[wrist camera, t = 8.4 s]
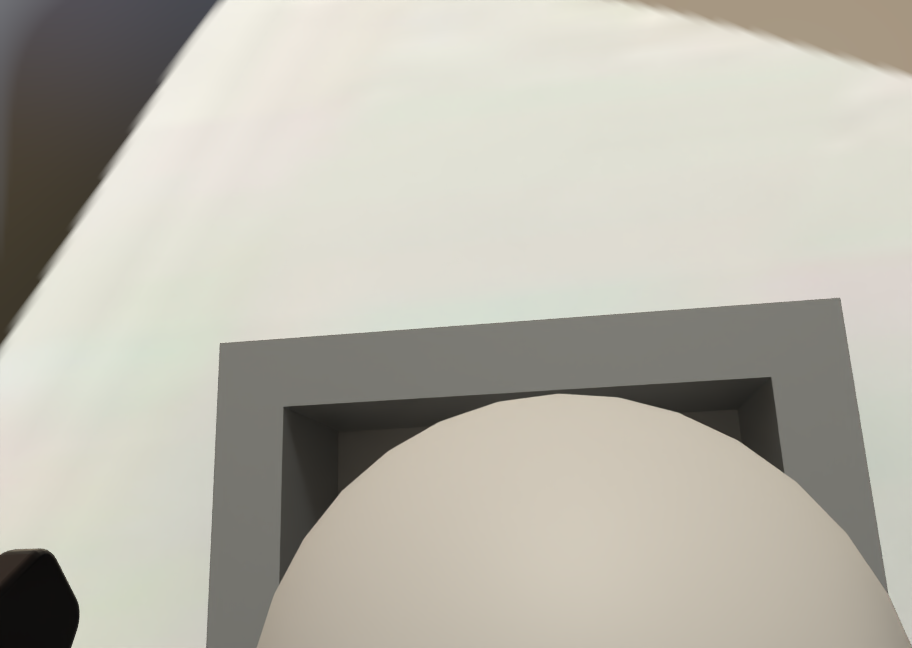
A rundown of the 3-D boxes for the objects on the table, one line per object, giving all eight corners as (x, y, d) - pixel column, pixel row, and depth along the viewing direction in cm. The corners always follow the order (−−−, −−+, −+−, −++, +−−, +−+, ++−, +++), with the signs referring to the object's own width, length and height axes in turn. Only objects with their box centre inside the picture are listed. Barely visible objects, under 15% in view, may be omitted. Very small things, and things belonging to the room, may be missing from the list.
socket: (868, 945, 14) (968, 1091, 10) (286, 926, 16) (188, 1046, 12) (785, 353, 17) (839, 297, 13) (296, 385, 18) (220, 343, 15)
